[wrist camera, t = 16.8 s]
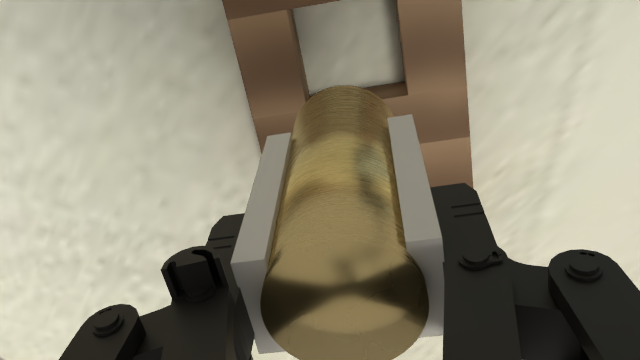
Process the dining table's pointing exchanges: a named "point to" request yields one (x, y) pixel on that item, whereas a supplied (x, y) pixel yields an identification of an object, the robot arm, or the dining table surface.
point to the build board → (402, 98)
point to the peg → (342, 239)
